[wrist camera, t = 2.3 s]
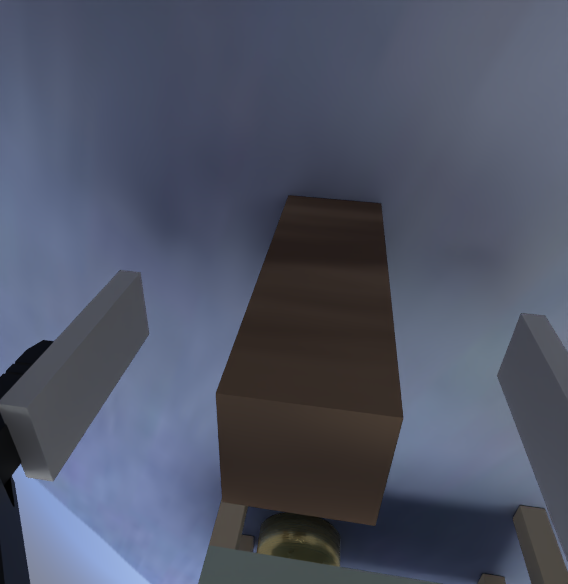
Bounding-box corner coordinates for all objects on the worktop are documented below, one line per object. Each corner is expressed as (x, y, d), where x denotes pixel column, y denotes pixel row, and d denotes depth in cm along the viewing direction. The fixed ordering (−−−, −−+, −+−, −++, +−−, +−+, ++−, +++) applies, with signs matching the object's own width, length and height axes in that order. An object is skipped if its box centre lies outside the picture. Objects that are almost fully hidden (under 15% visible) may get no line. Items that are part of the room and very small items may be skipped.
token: (257, 508, 33) (251, 543, 31) (341, 516, 32) (341, 552, 30) (262, 552, 36) (257, 586, 34) (339, 559, 35) (338, 594, 33)
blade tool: (288, 195, 20) (216, 393, 10) (381, 203, 20) (403, 417, 10) (275, 474, 30) (234, 705, 20) (335, 482, 30) (323, 723, 20)
